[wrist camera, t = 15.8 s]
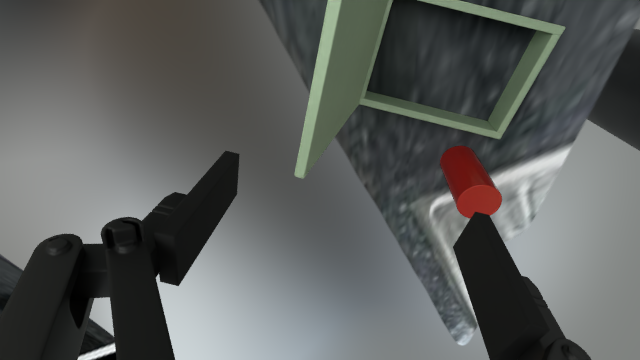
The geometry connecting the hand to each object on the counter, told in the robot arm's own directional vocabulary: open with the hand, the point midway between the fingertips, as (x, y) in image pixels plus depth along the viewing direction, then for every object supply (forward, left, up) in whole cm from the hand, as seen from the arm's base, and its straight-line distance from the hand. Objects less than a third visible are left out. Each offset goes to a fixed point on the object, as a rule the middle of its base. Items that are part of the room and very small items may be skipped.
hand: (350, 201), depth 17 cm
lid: (+1, -4, -16) cm, 16 cm away
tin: (-18, +9, -31) cm, 37 cm away
